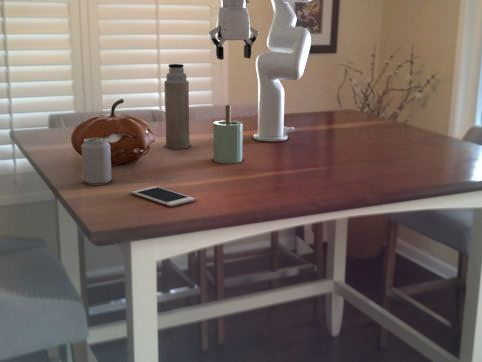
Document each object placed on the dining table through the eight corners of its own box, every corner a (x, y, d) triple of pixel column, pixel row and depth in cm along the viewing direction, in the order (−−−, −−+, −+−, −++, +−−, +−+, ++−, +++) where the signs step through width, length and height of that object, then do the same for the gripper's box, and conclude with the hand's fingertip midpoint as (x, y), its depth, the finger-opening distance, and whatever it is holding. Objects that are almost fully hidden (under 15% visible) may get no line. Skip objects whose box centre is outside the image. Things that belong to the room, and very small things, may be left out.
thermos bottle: (192, 144, 233) (191, 63, 226) (184, 149, 225) (183, 65, 218) (171, 143, 234) (169, 62, 227) (162, 147, 227) (160, 64, 220)
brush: (230, 156, 214) (230, 103, 210) (235, 159, 211) (235, 105, 207) (220, 157, 212) (220, 104, 208) (225, 160, 209) (225, 106, 205)
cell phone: (170, 207, 162) (170, 204, 162) (131, 193, 172) (131, 191, 172) (195, 200, 167) (195, 198, 167) (155, 188, 178) (155, 185, 178)
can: (86, 178, 186) (84, 136, 183) (114, 178, 186) (112, 136, 183) (80, 185, 179) (78, 141, 175) (109, 185, 179) (107, 142, 176)
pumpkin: (116, 175, 190) (113, 109, 185) (54, 163, 202) (50, 101, 197) (172, 159, 211) (171, 99, 206) (113, 149, 223) (110, 92, 218)
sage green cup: (233, 155, 218) (234, 119, 215) (247, 161, 211) (247, 124, 208) (208, 158, 213) (208, 121, 210) (221, 164, 206) (221, 126, 203)
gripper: (251, 2, 215) (251, 56, 220) (203, 2, 206) (204, 58, 211) (263, 3, 209) (263, 58, 214) (214, 3, 200) (214, 61, 205)
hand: (233, 58), depth 212 cm, fingers open, 9 cm apart
